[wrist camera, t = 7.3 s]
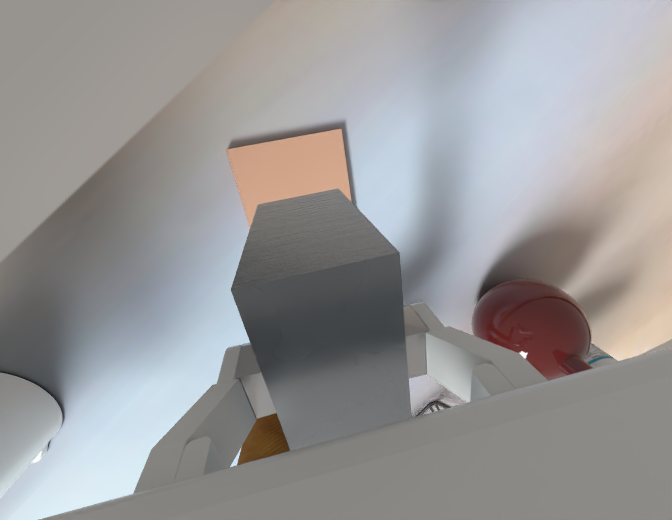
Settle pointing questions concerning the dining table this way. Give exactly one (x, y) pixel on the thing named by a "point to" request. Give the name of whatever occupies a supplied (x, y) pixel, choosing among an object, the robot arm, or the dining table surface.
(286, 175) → the tile
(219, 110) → the dining table surface
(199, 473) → the robot arm
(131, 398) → the dining table surface
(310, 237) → the brushed grey metal block
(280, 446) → the disposable coffee cup
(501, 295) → the round-bottom flask
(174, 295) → the dining table surface
